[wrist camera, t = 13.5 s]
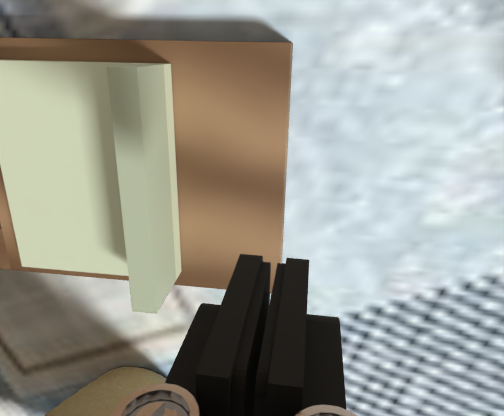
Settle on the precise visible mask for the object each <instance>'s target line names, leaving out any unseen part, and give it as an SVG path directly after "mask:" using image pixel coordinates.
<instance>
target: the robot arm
mask: <svg viewBox="0 0 504 416" xmlns="http://www.w3.org/2000/svg"><path fill="white" fill-rule="evenodd" d="M308 273H309V260H305V259H293V258H287V259H286V264H283V263H277V268H276V273H275V278H274V284H273V289H272V294H271V300H270V277H271V262H263V256H259V255H248V254H240V256H239V258H238V261H237V263H236V266H235V269H234V271H233V274H232V277H231V279H230V282H229V285H228V287H227V290H226V293H225V295H224V298H223V301H222V303H221V305H215V304H205V303H203V304H201V305H200V307H199V308H198V311H197V313H196V315H195V317H194V319H193V322H192V324H191V326H190V328H189V330H188V333H187V335H186V337H185V339H184V341H183V344H182V346H181V348H180V350H179V352H178V355H177V357H176V359H175V361H174V363H173V366H172V368H171V370H170V372H169V374H168V377H167V379H166V381H165V383H159V384H150V385H147V386H145V387H142V388H139V389H137V390H135V391H133V392H132V393H130V394H129V395H127V396H126V397H125V398H124V399H123V400H122V401H121V402H120V403H119V404H118V405H117V406H116V407H115V408H114V410H113V411H112V412H111V414H110V415H109V416H357V415H355V414H354V413H352V412H351V411H348V410H346V399H345V386H344V373H343V359H342V346H341V333H340V321H339V318H338V317H328V316H319V315H309V314H307V295H308ZM269 302H270V305H269Z"/></svg>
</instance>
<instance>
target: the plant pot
mask: <svg viewBox="0 0 504 416" xmlns="http://www.w3.org/2000/svg"><path fill="white" fill-rule="evenodd" d="M165 381H166V378H164V377H163V376H161V375H160V374H157V373H155V372H153V371H150V370H147V369H144V368H139V367H119V368H116V369H112V370H110V371H108V372H106V373H105V374H103V375H102V376H100V377H98V378H97V379H95V380H94V381H92V382H91V383H89V384H88V385H86V386H85V387H83V388H82V389H80V390H79V391H77V392H76V393H75V394H73V395H72V396H70V397H69V398H67V399H66V400H65V401H63V402H62V403H61V404H59V405H58V406H57V407H55V408H54V409H53V410H51V411H50V412H49V413H47V414H46V415H45V416H109V415H110V414H111V412H112V411H113V410H114V408H115V407H116V406H117V405H118V404H119V403H120V402H121V401H122V400H123V399H124V398H125V397H126V396H127V395H129V394H130V393H132V392H133V391H135V390H137V389H139V388H142V387H145V386H147V385H150V384H159V383H165Z"/></svg>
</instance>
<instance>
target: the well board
mask: <svg viewBox="0 0 504 416" xmlns="http://www.w3.org/2000/svg"><path fill="white" fill-rule="evenodd" d="M292 50H293V43H283V42H227V41H171V40H115V39H59V38H3V37H0V60H40V61H81V62H121V63H161V64H171V75H172V95H173V114H174V134H175V153H176V173H177V192H178V212H179V231H180V251H181V270H182V271H181V273H180V275H179V276H178V278H177V280H176V281H175V283H174V285H184V286H195V287H206V288H217V289H227V287H228V285H229V282H230V279H231V277H232V274H233V271H234V269H235V266H236V263H237V261H238V258H239V256H240V254H248V255H259V256H263V262H271V277H270V293H272V289H273V284H274V278H275V273H276V268H277V263H282V247H283V227H284V207H285V188H286V168H287V148H288V129H289V109H290V89H291V70H292ZM0 269H8V270H19V271H30V272H41V273H52V274H63V275H74V276H85V277H96V278H107V279H118V280H129V276H122V275H111V274H100V273H88V272H77V271H66V270H55V269H44V268H33V267H22V264H21V260H20V255H19V250H18V245H17V241H16V236H15V231H14V227H13V222H12V217H11V213H10V208H9V203H8V199H7V194H6V189H5V185H4V180H3V175H2V171H1V166H0Z"/></svg>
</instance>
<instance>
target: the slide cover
mask: <svg viewBox="0 0 504 416" xmlns="http://www.w3.org/2000/svg"><path fill="white" fill-rule="evenodd" d="M0 166H1V171H2V175H3V180H4V185H5V189H6V194H7V199H8V203H9V208H10V213H11V217H12V222H13V227H14V231H15V236H16V241H17V245H18V250H19V255H20V260H21V264H22V267H33V268H44V269H55V270H66V271H77V272H88V273H100V274H111V275H122V276H129V285H130V294H131V304H132V311H135V312H145V313H155V314H157V312H158V310H159V309H160V307H161V305H162V304H163V302H164V300H165V298H166V297H167V295H168V293H169V292H170V290H171V288H172V286H173V285H174V283H175V281H176V280H177V278H178V276H179V275H180V273H181V271H182V270H181V251H180V231H179V212H178V192H177V173H176V153H175V134H174V114H173V95H172V75H171V64H161V63H121V62H81V61H40V60H0Z"/></svg>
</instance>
